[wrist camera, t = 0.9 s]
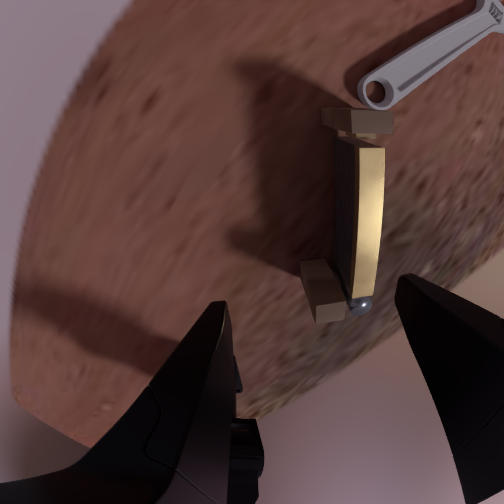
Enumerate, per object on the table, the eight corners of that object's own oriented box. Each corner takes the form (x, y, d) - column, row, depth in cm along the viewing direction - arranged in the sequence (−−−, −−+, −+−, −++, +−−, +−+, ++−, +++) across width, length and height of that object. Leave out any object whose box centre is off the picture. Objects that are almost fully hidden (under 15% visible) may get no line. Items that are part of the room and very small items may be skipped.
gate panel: (349, 275, 23) (370, 313, 19) (331, 278, 23) (349, 317, 19) (352, 136, 17) (385, 148, 13) (330, 136, 17) (359, 148, 13)
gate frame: (326, 278, 24) (346, 323, 19) (296, 278, 23) (311, 324, 19) (356, 108, 17) (396, 112, 12) (320, 101, 17) (351, 102, 12)
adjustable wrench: (367, 117, 18) (378, 119, 16) (317, 42, 15) (324, 37, 14) (520, 32, 11) (531, 32, 10) (493, -20, 9) (503, -22, 7)
